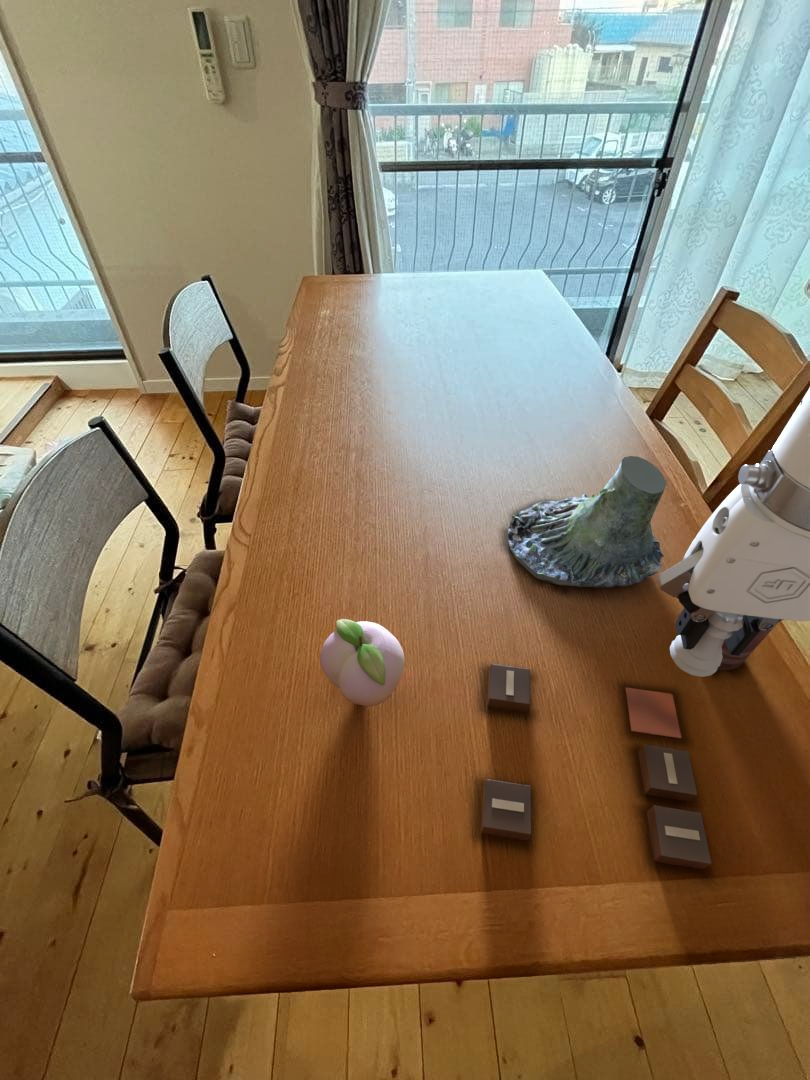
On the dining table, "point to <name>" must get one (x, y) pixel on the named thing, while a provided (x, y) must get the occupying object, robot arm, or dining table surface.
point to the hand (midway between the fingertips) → (707, 638)
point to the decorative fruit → (362, 661)
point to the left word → (501, 800)
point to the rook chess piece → (706, 645)
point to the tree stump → (594, 532)
